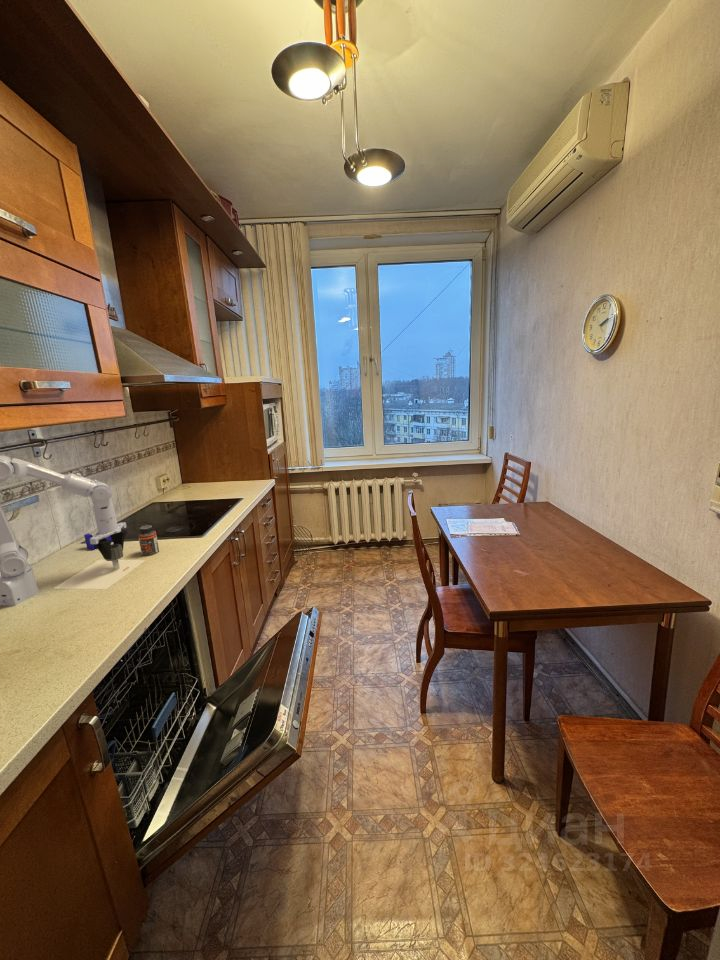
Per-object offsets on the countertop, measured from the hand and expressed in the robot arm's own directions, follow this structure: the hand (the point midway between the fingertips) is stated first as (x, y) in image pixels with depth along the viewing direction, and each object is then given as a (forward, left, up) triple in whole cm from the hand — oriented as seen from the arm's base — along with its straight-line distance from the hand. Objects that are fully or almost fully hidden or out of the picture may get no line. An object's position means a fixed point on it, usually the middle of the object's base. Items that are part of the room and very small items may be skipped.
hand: (113, 554), depth 131 cm
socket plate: (-3, +3, -6) cm, 8 cm away
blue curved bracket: (+23, +22, -7) cm, 32 cm away
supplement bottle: (+13, -4, -6) cm, 15 cm away
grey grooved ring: (0, 0, -1) cm, 1 cm away
